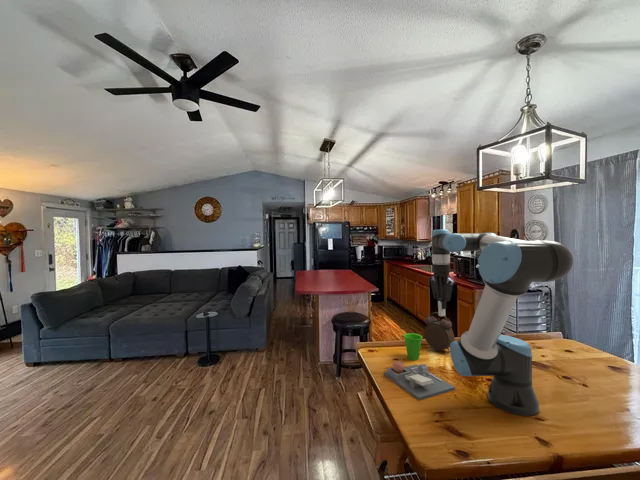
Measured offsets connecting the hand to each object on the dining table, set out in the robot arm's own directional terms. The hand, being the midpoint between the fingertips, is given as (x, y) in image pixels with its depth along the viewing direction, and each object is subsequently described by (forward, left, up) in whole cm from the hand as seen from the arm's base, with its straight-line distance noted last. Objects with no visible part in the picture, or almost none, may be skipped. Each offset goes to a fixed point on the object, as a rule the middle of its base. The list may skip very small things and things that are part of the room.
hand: (442, 315), depth 129 cm
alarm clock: (+17, -15, -25) cm, 33 cm away
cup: (+15, +4, -25) cm, 29 cm away
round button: (+2, +23, -22) cm, 32 cm away
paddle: (-8, +21, -21) cm, 31 cm away
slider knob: (-2, +13, -23) cm, 27 cm away
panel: (-4, +18, -24) cm, 31 cm away
